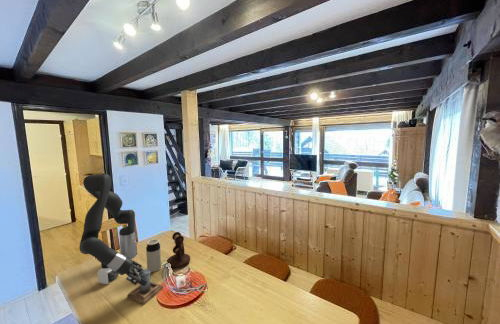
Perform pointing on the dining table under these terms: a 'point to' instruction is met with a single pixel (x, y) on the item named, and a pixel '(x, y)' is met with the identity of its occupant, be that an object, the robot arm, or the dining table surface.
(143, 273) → the blue-grey dome-topped cylinder
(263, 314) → the dining table surface
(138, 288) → the walnut socket
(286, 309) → the dining table surface
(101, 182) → the robot arm
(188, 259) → the scroll
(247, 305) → the dining table surface
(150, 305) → the dining table surface
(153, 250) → the travel mug
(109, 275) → the medicine bottle
